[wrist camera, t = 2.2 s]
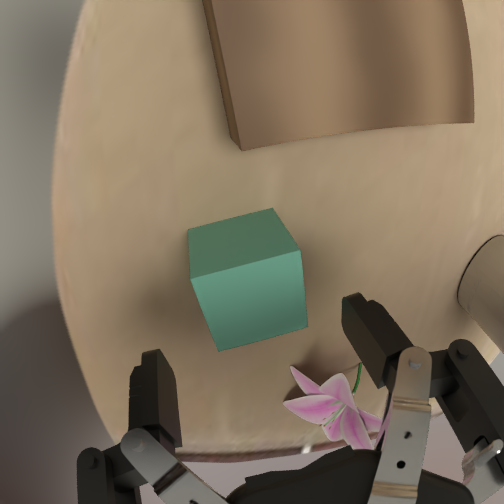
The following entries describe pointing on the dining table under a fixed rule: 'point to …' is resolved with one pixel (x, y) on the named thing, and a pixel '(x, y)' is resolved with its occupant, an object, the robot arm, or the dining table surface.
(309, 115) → the walnut base
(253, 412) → the dining table surface
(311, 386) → the lily
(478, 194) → the dining table surface
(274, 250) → the green cube
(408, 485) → the robot arm
